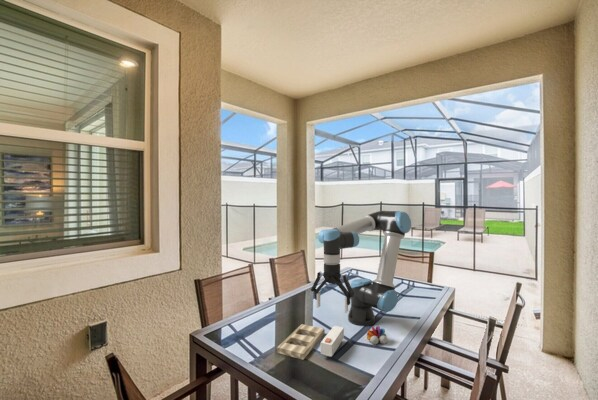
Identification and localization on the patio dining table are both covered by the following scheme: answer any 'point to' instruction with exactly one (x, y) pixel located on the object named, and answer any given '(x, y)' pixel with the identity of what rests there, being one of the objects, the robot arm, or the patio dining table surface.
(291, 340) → the square hole board
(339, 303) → the patio dining table surface
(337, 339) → the power strip
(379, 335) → the rainbow stacked discs
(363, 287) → the robot arm
